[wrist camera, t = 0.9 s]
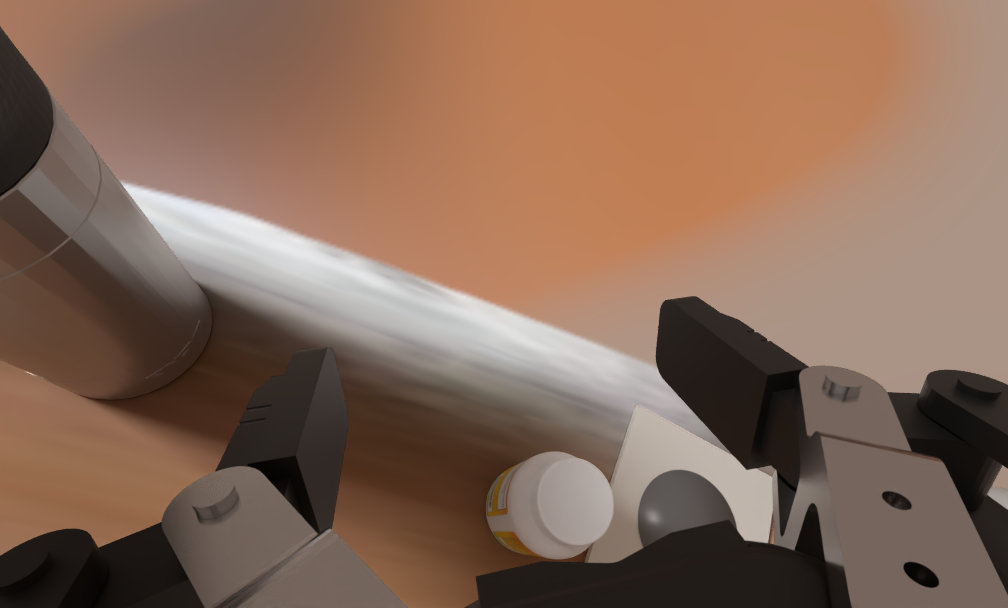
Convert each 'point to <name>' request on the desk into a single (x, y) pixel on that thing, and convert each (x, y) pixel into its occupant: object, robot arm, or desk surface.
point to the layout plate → (678, 489)
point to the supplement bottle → (550, 506)
